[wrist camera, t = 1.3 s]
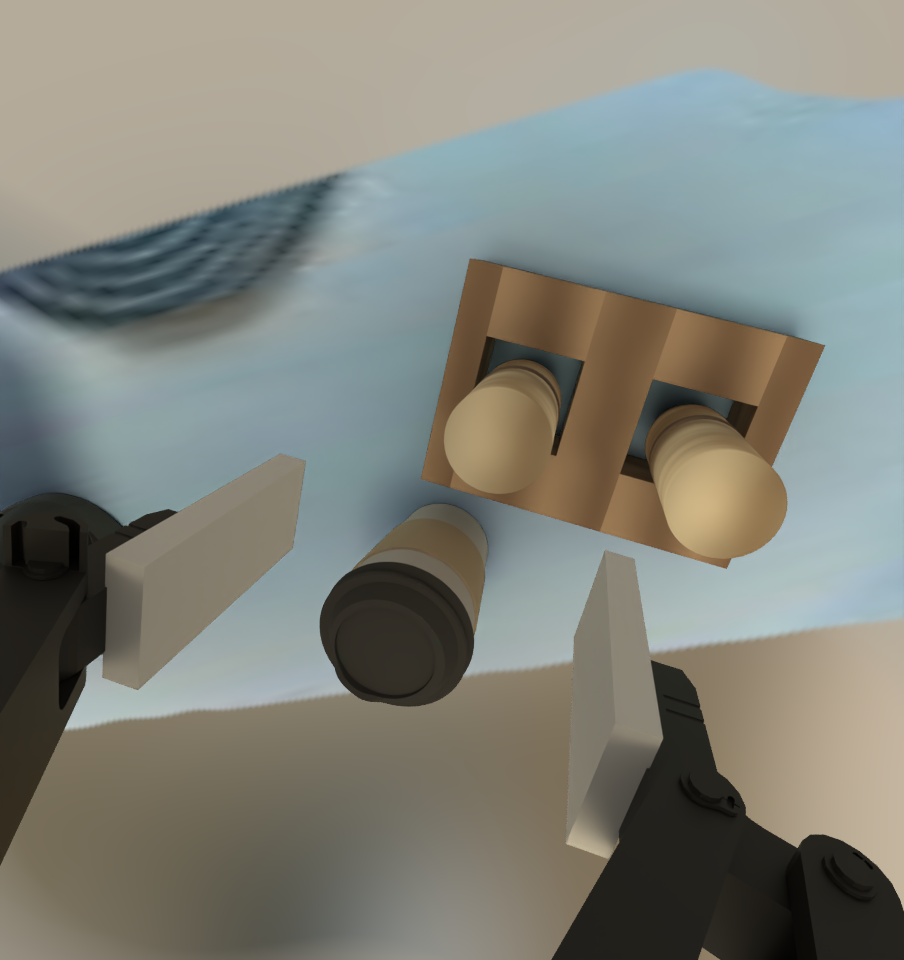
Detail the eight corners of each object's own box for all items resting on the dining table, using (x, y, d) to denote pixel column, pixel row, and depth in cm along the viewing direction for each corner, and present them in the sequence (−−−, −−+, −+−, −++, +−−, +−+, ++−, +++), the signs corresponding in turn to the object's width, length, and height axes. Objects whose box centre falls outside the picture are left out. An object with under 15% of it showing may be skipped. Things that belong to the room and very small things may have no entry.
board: (438, 458, 45) (420, 479, 40) (483, 260, 40) (470, 258, 35) (711, 536, 43) (726, 568, 38) (796, 337, 38) (825, 345, 33)
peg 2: (630, 463, 38) (648, 540, 27) (657, 387, 36) (687, 436, 25) (709, 485, 38) (760, 573, 26) (740, 409, 36) (808, 469, 25)
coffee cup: (437, 465, 45) (369, 549, 31) (527, 546, 46) (501, 664, 32) (365, 544, 49) (276, 651, 35) (450, 618, 49) (396, 754, 35)
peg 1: (476, 420, 39) (432, 477, 28) (495, 345, 38) (456, 374, 26) (550, 441, 39) (535, 507, 28) (573, 366, 37) (566, 404, 26)
